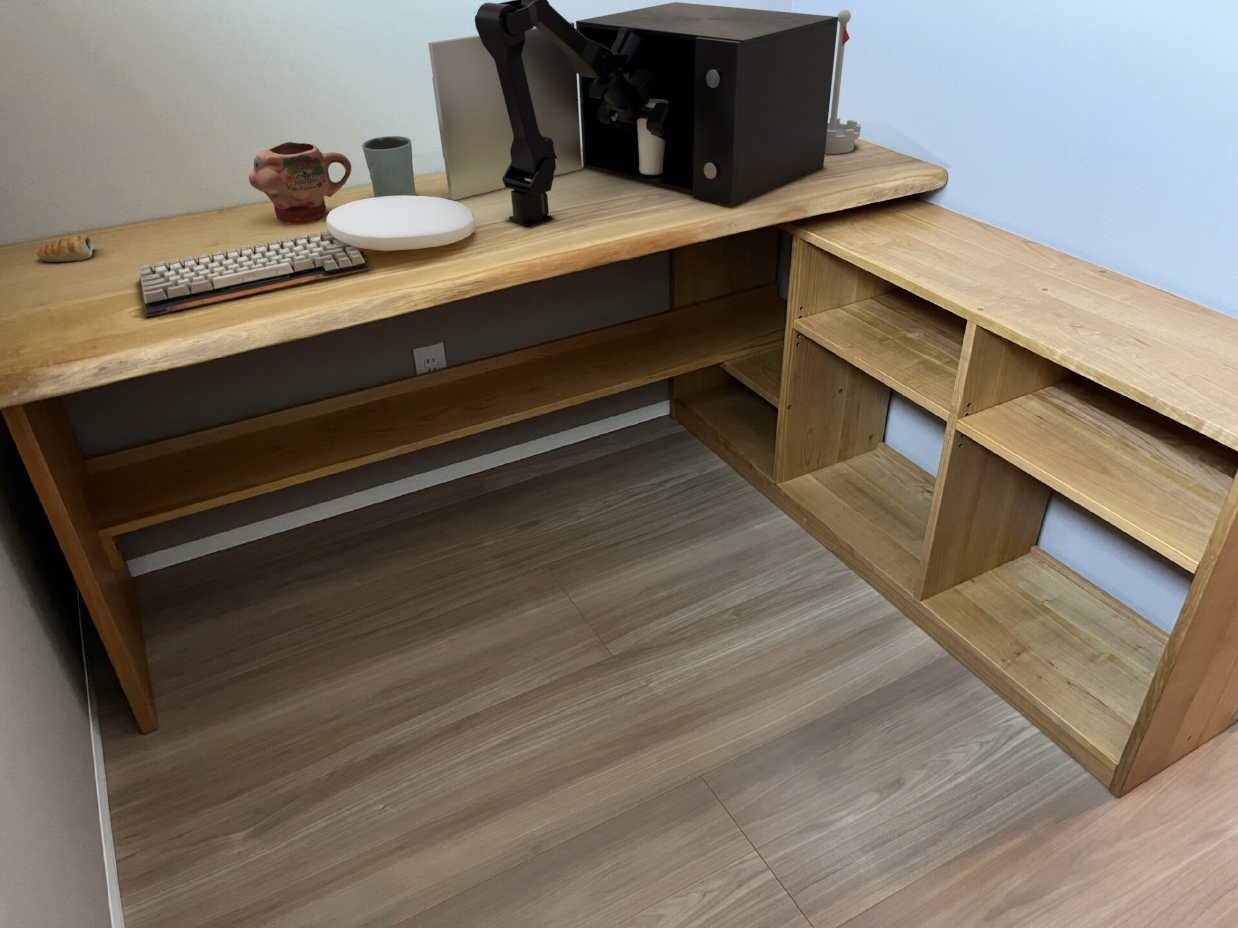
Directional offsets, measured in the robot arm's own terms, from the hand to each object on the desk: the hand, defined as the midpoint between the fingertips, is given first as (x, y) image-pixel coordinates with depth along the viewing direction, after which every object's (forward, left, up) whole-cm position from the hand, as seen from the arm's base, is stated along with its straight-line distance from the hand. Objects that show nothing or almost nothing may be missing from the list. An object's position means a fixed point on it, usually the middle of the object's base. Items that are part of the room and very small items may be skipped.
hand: (653, 136), depth 196 cm
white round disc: (-62, +5, -8) cm, 62 cm away
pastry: (-111, +45, -9) cm, 120 cm away
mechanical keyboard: (-89, +10, -9) cm, 90 cm away
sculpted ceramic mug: (-68, +33, -9) cm, 76 cm away
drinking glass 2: (-2, -1, -7) cm, 8 cm away
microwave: (+10, -4, -8) cm, 14 cm away
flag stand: (+44, -15, -9) cm, 48 cm away
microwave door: (-25, +21, -8) cm, 33 cm away
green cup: (-50, +29, -9) cm, 58 cm away
